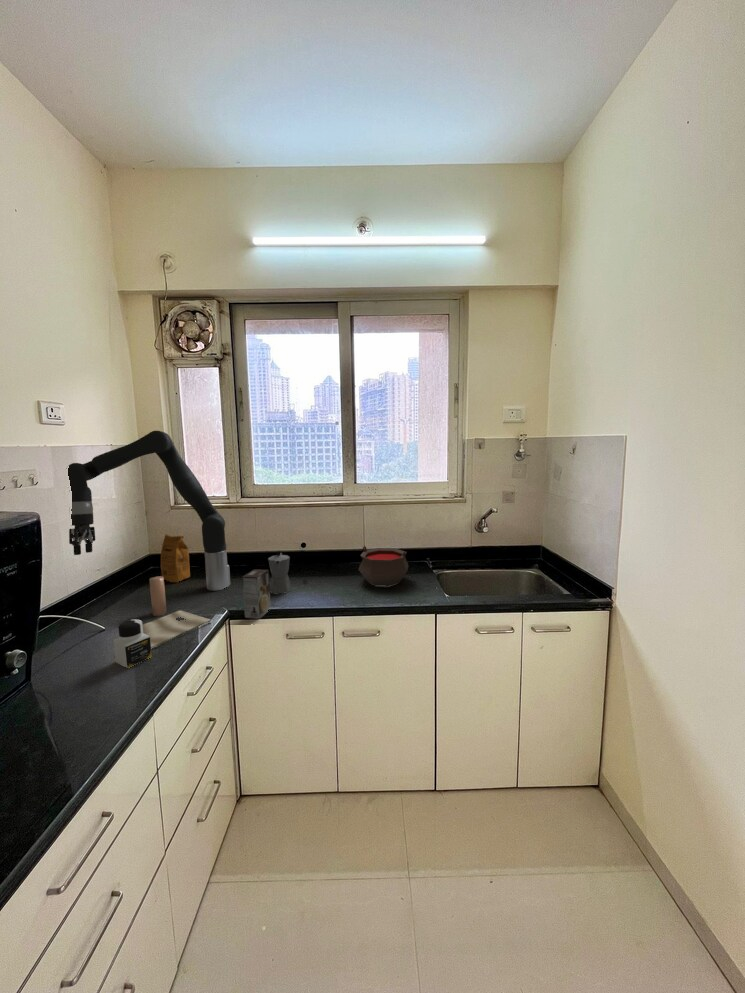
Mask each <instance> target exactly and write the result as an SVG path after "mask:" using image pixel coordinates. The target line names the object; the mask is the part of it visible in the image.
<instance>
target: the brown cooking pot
mask: <svg viewBox="0 0 745 993" xmlns="http://www.w3.org/2000/svg"><path fill="white" fill-rule="evenodd" d="M362 550H363V552H362V553H361V554H360V557H361V559H362V560H361V563H360V564H359V567H358V571H359V573H360V574H361V575H362V577H363V578H364V579H365V581H368V582H370V583H372V584H374V585H386V586H389V585H393V584H396V583H399V584H400V582H401V581H402V580H403V579H404V577H405V575H406V574H407V572H408V569H409V563H408V560H407V558H406V555H407V551H404V550H403V549H402V550H401V549H398V548H392V547H391V548H390V547H375V548H372V549H367V547H366V545H365V544H364V545H363V547H362ZM368 582H367V583H368Z"/></svg>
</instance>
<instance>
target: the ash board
mask: <svg viewBox="0 0 745 993" xmlns="http://www.w3.org/2000/svg"><path fill="white" fill-rule="evenodd" d="M178 617H179V618H180V617H181V618H184V620H180V621H178V620H176V618H178ZM185 619H186V620H185ZM210 620H211V619H210V618H206V617H203V616H200V615H196V614H195V613H194V614H193V613H191V612H187V611H184V610H176V611H174V612H172V613H170V614H168V615H163V616H162V617H159V618H157V619H154V620H151V621H150V622H147V623H144V624H142V626H143V633H144V634H146V635H148V636H150V643H151V649H152V648H154V647H157V646H158V645H160V644H162V643H164V642H166V641H168V640H170V639H172V638H174V637H176V636H178V635H180V634H182V633H184V632H186V631H189V630H191V629H193V628H196V627H198V626H200V625H202V624H204V623H206V622H208V621H210Z"/></svg>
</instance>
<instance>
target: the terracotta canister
mask: <svg viewBox="0 0 745 993" xmlns="http://www.w3.org/2000/svg"><path fill="white" fill-rule="evenodd" d="M149 592H150V601H151V602H150V603H151V613H152V616H153V617H160V616H165V615H166V614H167V612H168V611H167V600H166V589H165V581H164V577H162V575H160V576H159V575H158V576H154V577H150V578H149Z"/></svg>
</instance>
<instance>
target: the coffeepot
mask: <svg viewBox="0 0 745 993" xmlns="http://www.w3.org/2000/svg"><path fill="white" fill-rule="evenodd" d="M290 560H291V557H290V556H289V555H288V554H287V555H286V554H283V552H281V551H280V550H278V551H277V550H276V555H271V556H270V557H268V558H267V561H268V564H269V565H268V566H269V572H270V574H271V578H270V584H269V585H270V591H271V592H272V593H284V592H288V591H289V590H290V589H291V590H292V588H291V583H290V577H289V575H288V573H289V572H290V571H289V570H290ZM291 590H290V591H291ZM290 591H289V592H290ZM271 592H270V593H271ZM289 592H288V593H289ZM272 593H271V594H272Z"/></svg>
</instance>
